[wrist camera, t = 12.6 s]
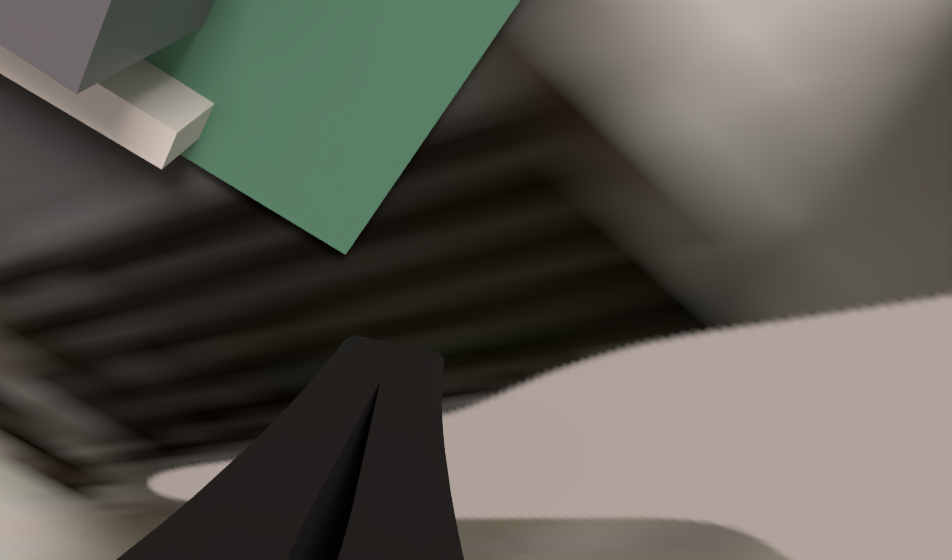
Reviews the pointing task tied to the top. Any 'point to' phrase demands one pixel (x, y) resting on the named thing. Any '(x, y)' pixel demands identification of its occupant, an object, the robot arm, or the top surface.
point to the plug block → (94, 34)
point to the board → (292, 98)
